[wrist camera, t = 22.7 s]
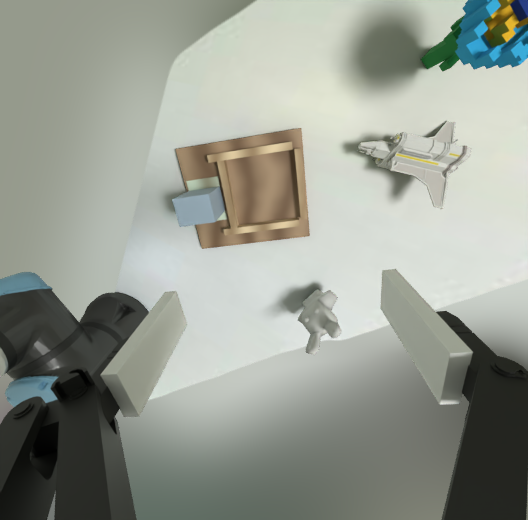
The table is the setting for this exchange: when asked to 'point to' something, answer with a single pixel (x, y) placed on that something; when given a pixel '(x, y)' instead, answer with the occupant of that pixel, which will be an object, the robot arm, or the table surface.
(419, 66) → the table surface
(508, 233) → the table surface
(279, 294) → the table surface
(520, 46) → the toy flower
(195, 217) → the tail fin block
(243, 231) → the jig
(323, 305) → the bunny figurine
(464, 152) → the toy spacecraft
